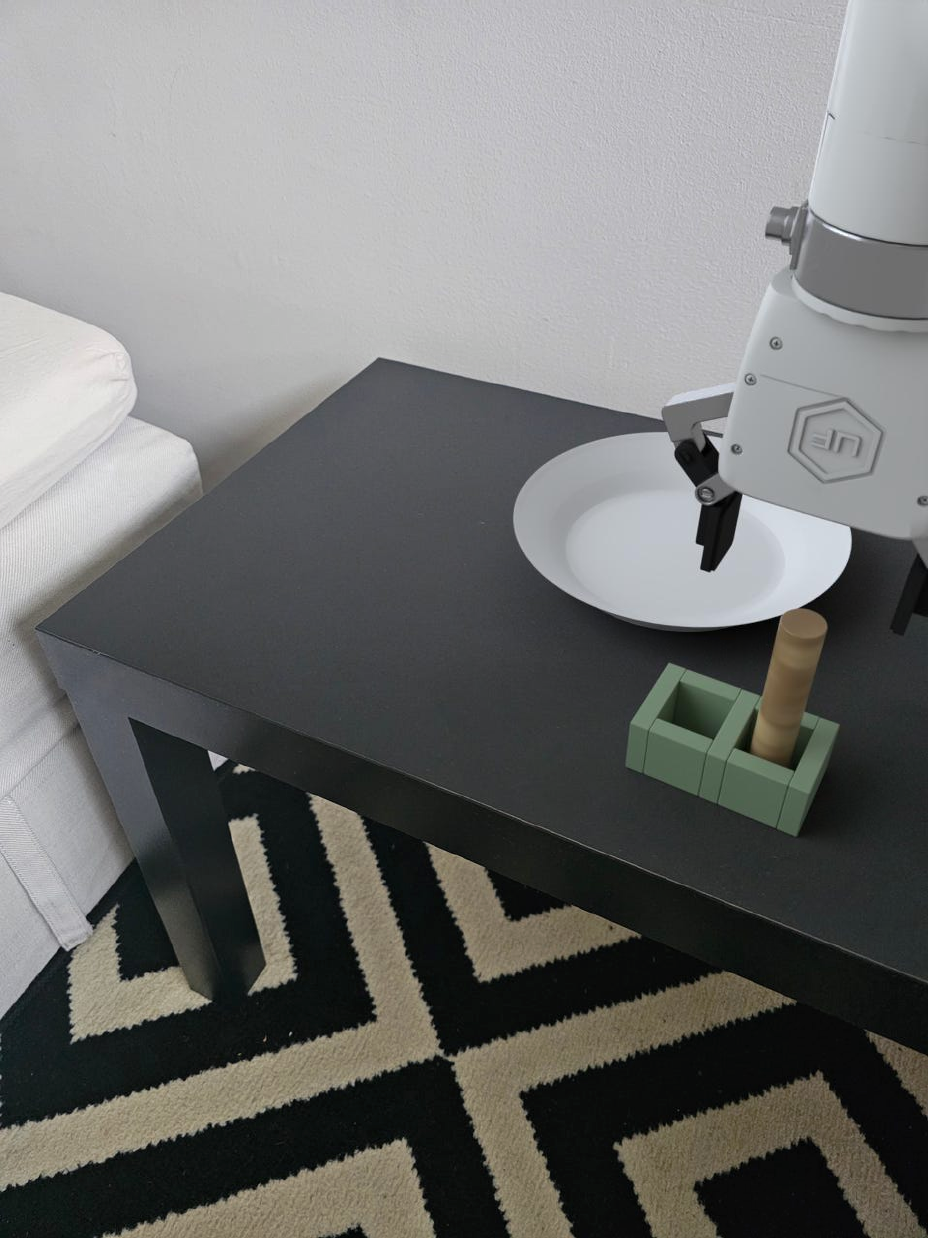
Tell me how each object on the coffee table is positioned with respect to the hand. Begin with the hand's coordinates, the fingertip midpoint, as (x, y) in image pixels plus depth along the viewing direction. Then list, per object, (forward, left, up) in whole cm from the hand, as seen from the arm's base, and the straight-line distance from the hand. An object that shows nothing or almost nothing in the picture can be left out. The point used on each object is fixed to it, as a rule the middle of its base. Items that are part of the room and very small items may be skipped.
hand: (806, 586), depth 51 cm
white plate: (+13, -18, -15) cm, 27 cm away
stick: (0, 0, -15) cm, 15 cm away
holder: (+2, 0, -15) cm, 15 cm away
